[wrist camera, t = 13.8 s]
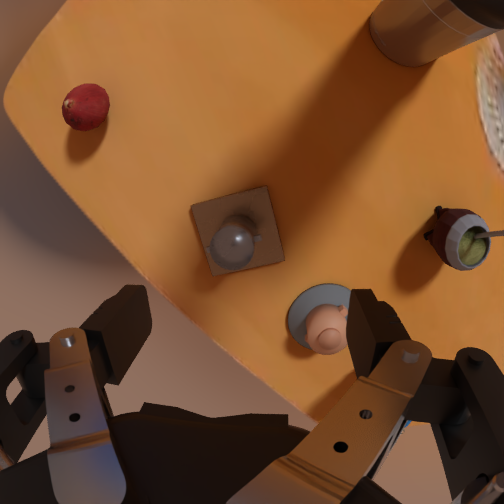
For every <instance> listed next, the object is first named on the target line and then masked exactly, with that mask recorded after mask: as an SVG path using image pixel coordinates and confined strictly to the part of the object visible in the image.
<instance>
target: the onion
mask: <svg viewBox="0 0 504 504" xmlns="http://www.w3.org/2000/svg"><path fill="white" fill-rule="evenodd" d="M109 106H110V103H109V96H108V94H107V93H106V91H105V89H103V88H102V87H100V86H98V85H96V84H82V85H80V86H77V87H75V88H74V89H73V90H72V91H70V92H69V93H68V94H67V96H66V98H65V99H64V102H63V106H62V114H63V117H64V119H65V122H66V123H67V124H68V125H70V126H71V127H72V128H73V129H75V130H80V131H89V130H91V129H94V128H97V127H98V126H99V125H100V124H101V123H102V122H103V121H104V119H105V117H106V116H107V114H108V111H109Z"/></svg>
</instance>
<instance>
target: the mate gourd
mask: <svg viewBox="0 0 504 504" xmlns="http://www.w3.org/2000/svg"><path fill="white" fill-rule="evenodd" d="M435 209H436V213H437V217H438V220H437V223H436V225H435V227H434V229H433V230H431V231H429V232H427V233H425V234H424V238H425V240H429V242H430V244H431V245H432V246H433V247H434V248H435V250H436V252H437V253H438V255H439V256H440V258H441V259H442V260H443V261H444V263H445V264H447V265H449V266H451V267H453V268H455V269H458V270H460V271H464V270H472V269H474V268H475V267H477V266H479V265H481V264H482V262H483V261H484V260H485V259H486V257H487V255H488V253H489V251H490V245H491V239H490V237H494V236H504V230H502V231H493V232H489V228H488V226H487V225H486V223H485V221H484V220H483V219H482V218H481V217H480V216H478V215H477V214H475V213H474V212H472V211H470V210H467V209H449V208H444V209H442V207H441V206H437V207H436V208H435Z"/></svg>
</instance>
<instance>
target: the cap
mask: <svg viewBox="0 0 504 504" xmlns="http://www.w3.org/2000/svg"><path fill="white" fill-rule="evenodd" d="M347 314H348V310H347V308H346V307H345V306H344V305H343V304H342V305H341V306H339V307H338V306H336V305H333V304H321V305H318V306H316V307H314V308H313V309H312V310H311V311H310V312H309V313H308V315H307V317H306V329H307V334H306V335H305V341H306V342H307V343H308V344H309V345H310V347H311V348H312V350H314V351H315V352H317V353H319V354H323V355H331V354H335V353H337V352H339V351H341V350H342V349H344V348H345V347H346V345H347V344H348V343H347V339H346V323H347V321H346V319H345V316H346V315H347Z"/></svg>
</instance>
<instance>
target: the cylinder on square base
mask: <svg viewBox="0 0 504 504" xmlns="http://www.w3.org/2000/svg"><path fill="white" fill-rule="evenodd" d="M191 208H192V211H193V215H194V218H195V221H196V225H197V228H198V231H199V234H200V238H201V241H202V244H203V247H204V251H205V254H206V257H207V260H208V263H209V266H210V269H211V273H212V276H217V275H221V274H226V273H230V272H235V271H240V270H244V269H249V268H253V267H258V266H263V265H267V264H272V263H276V262H281V261H285V257H284V253H283V249H282V245H281V241H280V237H279V233H278V228H277V224H276V220H275V216H274V212H273V208H272V204H271V201H270V197H269V193H268V189H267V185H266V186H262V187H258V188H254V189H250V190H246V191H242V192H238V193H234V194H230V195H226V196H223V197H219V198H215V199H211V200H208V201H204V202H200V203H197V204H193V205H192V206H191Z"/></svg>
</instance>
